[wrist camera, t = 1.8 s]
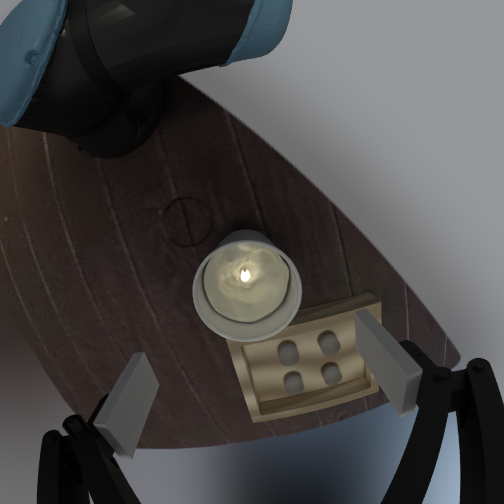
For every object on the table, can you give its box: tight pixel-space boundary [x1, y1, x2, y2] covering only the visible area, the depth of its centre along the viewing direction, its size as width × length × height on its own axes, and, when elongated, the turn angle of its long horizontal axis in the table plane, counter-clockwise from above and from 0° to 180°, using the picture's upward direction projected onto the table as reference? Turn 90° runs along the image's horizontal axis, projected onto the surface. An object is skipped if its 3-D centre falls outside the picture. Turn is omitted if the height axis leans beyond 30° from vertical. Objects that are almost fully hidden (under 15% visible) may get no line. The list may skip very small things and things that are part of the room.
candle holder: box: [193, 229, 302, 342], centre depth 30 cm, size 10×10×12 cm
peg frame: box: [226, 292, 381, 423], centre depth 38 cm, size 17×21×4 cm
